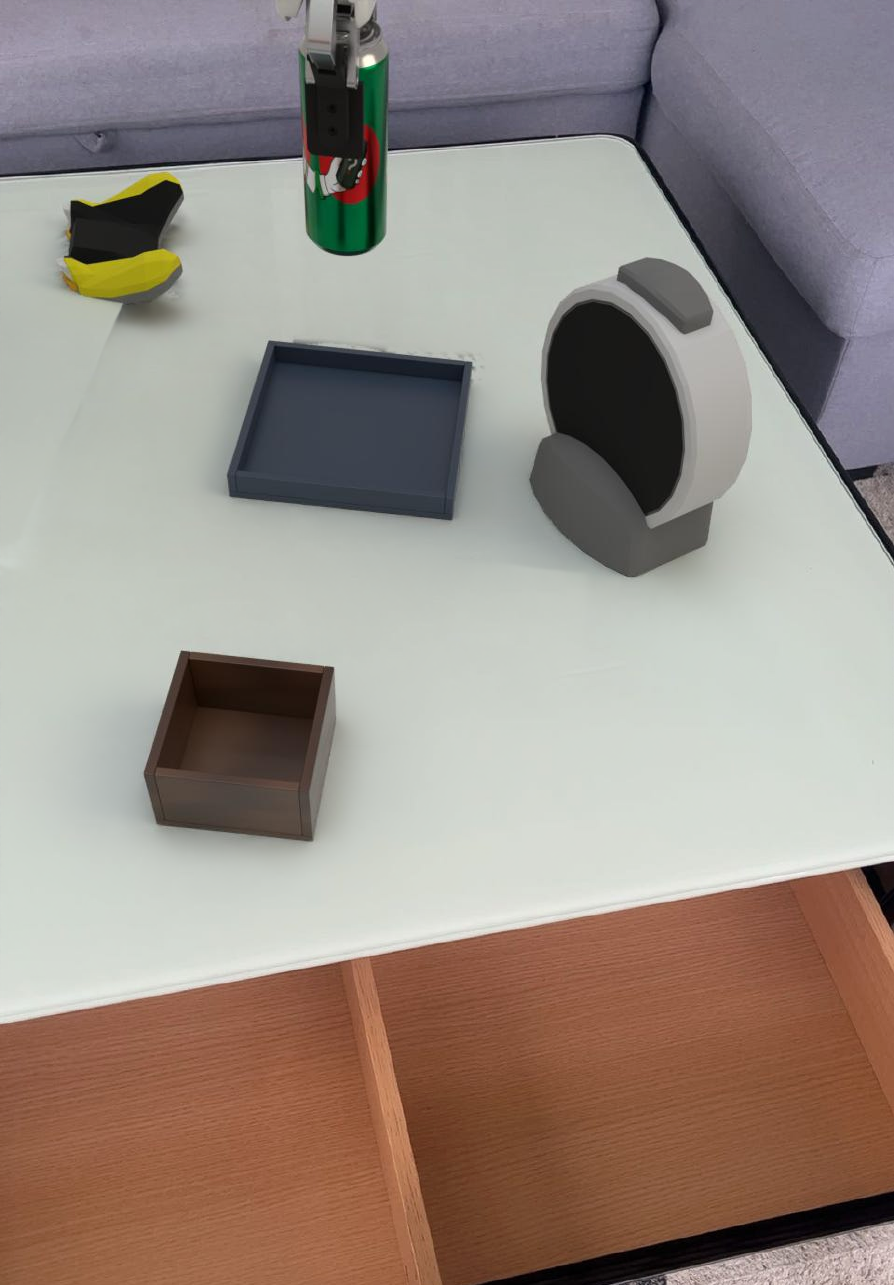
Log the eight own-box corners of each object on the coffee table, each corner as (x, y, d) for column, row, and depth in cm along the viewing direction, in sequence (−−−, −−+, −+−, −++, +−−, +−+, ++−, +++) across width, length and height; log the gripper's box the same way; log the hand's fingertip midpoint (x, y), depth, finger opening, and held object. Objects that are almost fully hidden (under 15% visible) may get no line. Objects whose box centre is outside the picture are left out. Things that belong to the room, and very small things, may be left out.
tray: (229, 496, 85) (226, 474, 84) (270, 362, 95) (268, 339, 93) (452, 520, 85) (453, 498, 83) (470, 383, 94) (472, 361, 93)
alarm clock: (497, 468, 89) (523, 234, 74) (604, 425, 92) (649, 194, 77) (631, 603, 81) (689, 373, 66) (741, 550, 85) (820, 322, 70)
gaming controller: (189, 226, 105) (74, 227, 104) (181, 164, 101) (61, 164, 100) (188, 326, 97) (62, 328, 96) (179, 263, 92) (47, 264, 91)
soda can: (402, 240, 75) (408, 31, 65) (346, 270, 73) (343, 59, 63) (346, 208, 77) (343, 1, 67) (289, 237, 74) (277, 26, 65)
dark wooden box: (156, 824, 69) (142, 773, 65) (191, 703, 74) (180, 649, 70) (312, 841, 69) (309, 792, 65) (336, 719, 74) (334, 666, 70)
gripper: (289, -334, 59) (305, 58, 74) (217, -229, 50) (251, 198, 64) (438, -319, 59) (423, 70, 74) (394, -210, 49) (388, 213, 64)
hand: (343, 126), depth 69 cm, fingers closed on soda can, 5 cm apart
